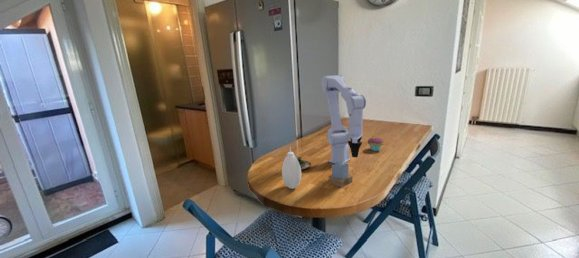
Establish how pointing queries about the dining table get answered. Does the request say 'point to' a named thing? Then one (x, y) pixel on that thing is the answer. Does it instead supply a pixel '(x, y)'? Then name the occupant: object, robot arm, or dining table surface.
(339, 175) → the blue cube
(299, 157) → the salad bowl
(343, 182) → the walnut block
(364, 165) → the dining table surface
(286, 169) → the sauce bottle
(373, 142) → the cupcake
